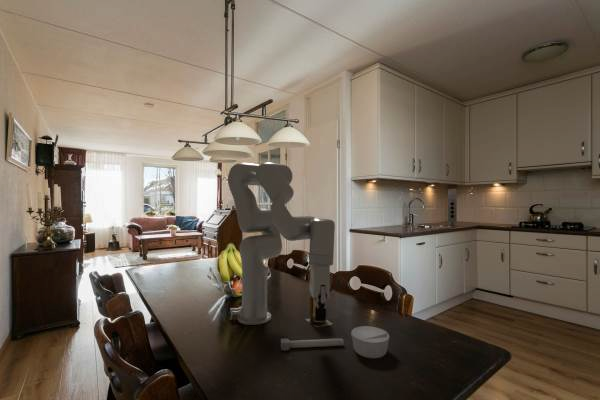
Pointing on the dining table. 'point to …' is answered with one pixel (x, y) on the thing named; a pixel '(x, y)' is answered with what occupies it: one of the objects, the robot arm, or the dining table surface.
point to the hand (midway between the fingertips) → (318, 316)
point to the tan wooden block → (314, 310)
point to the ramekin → (370, 341)
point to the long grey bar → (310, 343)
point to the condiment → (312, 319)
